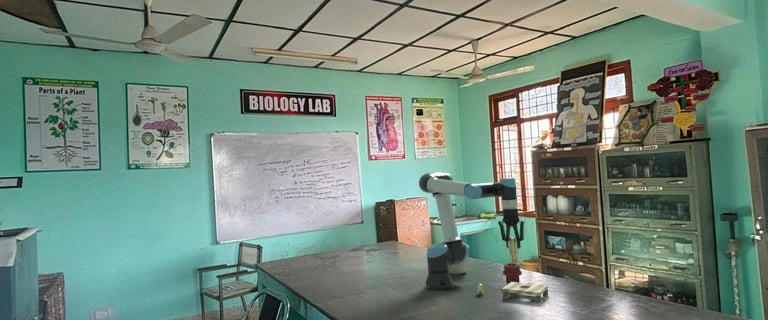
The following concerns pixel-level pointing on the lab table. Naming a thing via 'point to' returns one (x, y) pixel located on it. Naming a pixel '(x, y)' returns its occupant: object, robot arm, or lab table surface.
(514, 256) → the long pin
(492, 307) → the lab table surface
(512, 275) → the mechanical component
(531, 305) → the lab table surface
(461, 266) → the canister
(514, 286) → the stand
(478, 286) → the short pin
